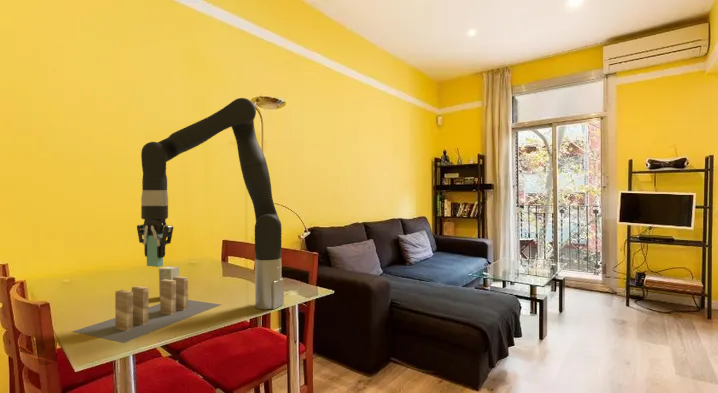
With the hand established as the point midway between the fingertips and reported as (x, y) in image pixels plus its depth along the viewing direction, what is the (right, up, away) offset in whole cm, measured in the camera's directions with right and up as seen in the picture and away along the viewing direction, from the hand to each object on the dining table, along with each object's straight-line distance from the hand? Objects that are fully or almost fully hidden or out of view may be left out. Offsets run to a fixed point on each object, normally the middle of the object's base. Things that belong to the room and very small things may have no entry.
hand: (154, 256), depth 113 cm
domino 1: (-4, -20, -9) cm, 22 cm away
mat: (-1, -20, +1) cm, 20 cm away
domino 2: (-2, -20, -5) cm, 20 cm away
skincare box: (-8, -21, +23) cm, 32 cm away
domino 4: (+2, -20, +5) cm, 20 cm away
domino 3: (0, -3, 0) cm, 3 cm away
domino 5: (+4, -20, +9) cm, 22 cm away
